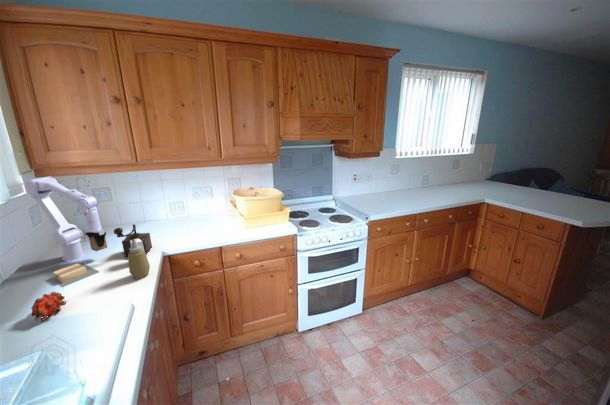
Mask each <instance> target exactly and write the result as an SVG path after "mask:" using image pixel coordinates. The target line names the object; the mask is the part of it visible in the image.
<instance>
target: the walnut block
mask: <svg viewBox="0 0 610 405" xmlns="http://www.w3.org/2000/svg"><path fill="white" fill-rule="evenodd" d="M88 241H89V245H90V249H91V250H92V251H95V252H98V251H101V250H104V249H107V248H108V245H107V240H106V238H105V239H104V246H102V247H98V245H97V243H96V241H95V239H94V238H93V237H92V238H89V237H88Z"/></svg>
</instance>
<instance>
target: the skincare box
mask: <svg viewBox="0 0 610 405" xmlns="http://www.w3.org/2000/svg"><path fill="white" fill-rule="evenodd" d="M134 240H136V242H137V244H138V245H140V246H141V247H142V250H144V247H143V243H142V241H141V240H140V239H139V238H138V239H134ZM130 244H131V247H132V240H131V241H130Z"/></svg>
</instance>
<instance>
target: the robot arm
mask: <svg viewBox="0 0 610 405" xmlns="http://www.w3.org/2000/svg"><path fill="white" fill-rule="evenodd" d="M24 189H25V190H26V192H27V193H28V194H29V195H30V197H31V198H33V199H34V201H35V202H36V204H37V205H38V206H39V208H40V209H41V211H42V212H43V213H44V214H45V217H47V219H48V220H49V222H50V223H51V224H52V226H53V227H54V228H55V230H54V231H53V232H52V236H53V237H54V240H55V243H56V244H57V245H59V246H60V249H61V252H62V256H63V257H62V258H61V260H63V261H65V262H68V263H71V262H74V261H77V260H80V259H83V258H87V257H88V254H85V253H84V251H83V247H82V244H81V241H82V238H83V232H82V230H81V229H80V228H78V227H77V225H76V224H72V223H69V221H67V220H66V218H65V217H64V215H63V214H62V212H61V211H60V209H59V208H58V207H57V205H56V203H54V201H53V200H52V199H51V197H50V196H51V195H52V194H53V193H56V194H60V195H62V196H64V198H65V200H67V201H68V202H71V203H73V204H75V205H76V206H77V208H78V209H79V211H80V213H82V215H83V220H84V223H85V230H84V235H86V236H87V237H88V239H89V238H92V237H93V238H94V239H95V241H96V243H97V245H98V247H102V246H104V239H106V235H107V232H105V230H103V227H102V225H101V220H100V216H99V211H98V208H97V206H99V200H98V198H97V197H96V196H94V195H87V194H85V193H82V192H80V191H78V190H77V189H76V188H75V189H69V188H67V187H66V186H63V185H62V184H60V183H59V182H58V181H57V179H56V178H53V177H52V176H44V177H39V178H34V179H27V180H26V181H25V183H24Z"/></svg>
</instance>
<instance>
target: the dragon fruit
mask: <svg viewBox="0 0 610 405" xmlns="http://www.w3.org/2000/svg"><path fill="white" fill-rule="evenodd" d="M65 299H66V298H65V296H64V295H62V293H60V292H56V291H52V292H50V293H47V294H46V293H45V294H42V297H40V298H39V297H38V298H36V299H35V301H34V302H33V305H32V307H31V315H32V317H34V318H37V319H40V321H43V320H45V319H49V318H50V317H51V316H52V315H53V314H59V313H60V312H61V311H62V306H64V305H66V304H67V300H65ZM49 315H50V316H49ZM47 316H48V317H47ZM41 317H43V318H41Z"/></svg>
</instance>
